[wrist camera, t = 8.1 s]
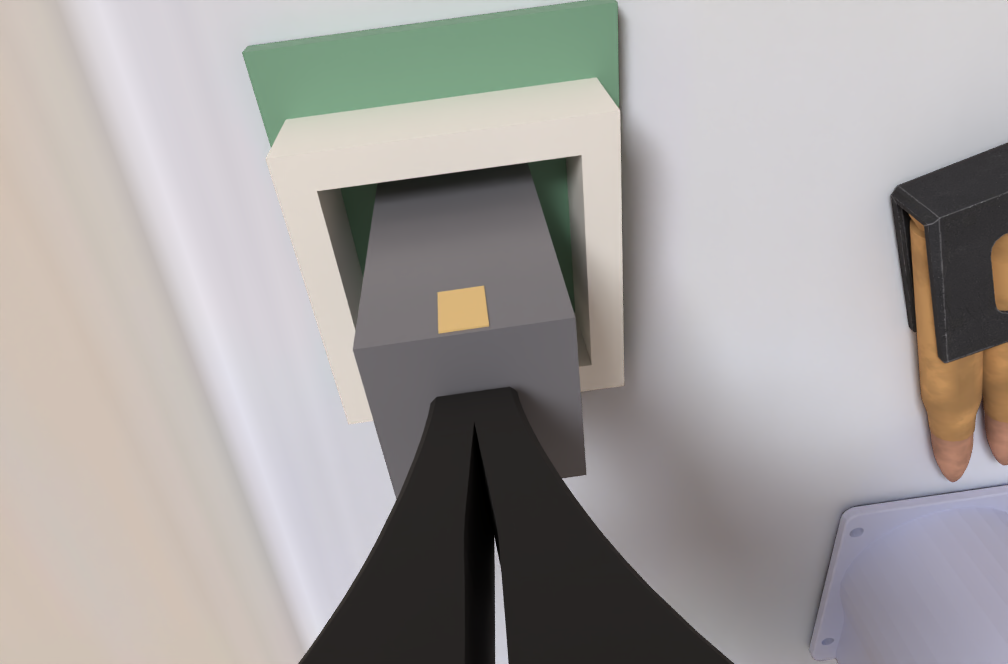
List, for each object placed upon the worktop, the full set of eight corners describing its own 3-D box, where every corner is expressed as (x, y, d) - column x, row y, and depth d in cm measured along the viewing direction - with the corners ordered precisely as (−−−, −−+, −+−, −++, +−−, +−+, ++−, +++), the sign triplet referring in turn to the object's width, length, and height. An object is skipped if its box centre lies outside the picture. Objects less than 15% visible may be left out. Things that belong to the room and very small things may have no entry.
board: (618, 359, 21) (643, 427, 19) (352, 396, 21) (342, 469, 19) (611, -3, 16) (645, 25, 13) (247, 46, 16) (214, 84, 13)
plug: (538, 282, 19) (586, 476, 13) (407, 301, 19) (397, 503, 13) (525, 154, 17) (575, 315, 11) (377, 175, 17) (352, 348, 11)
